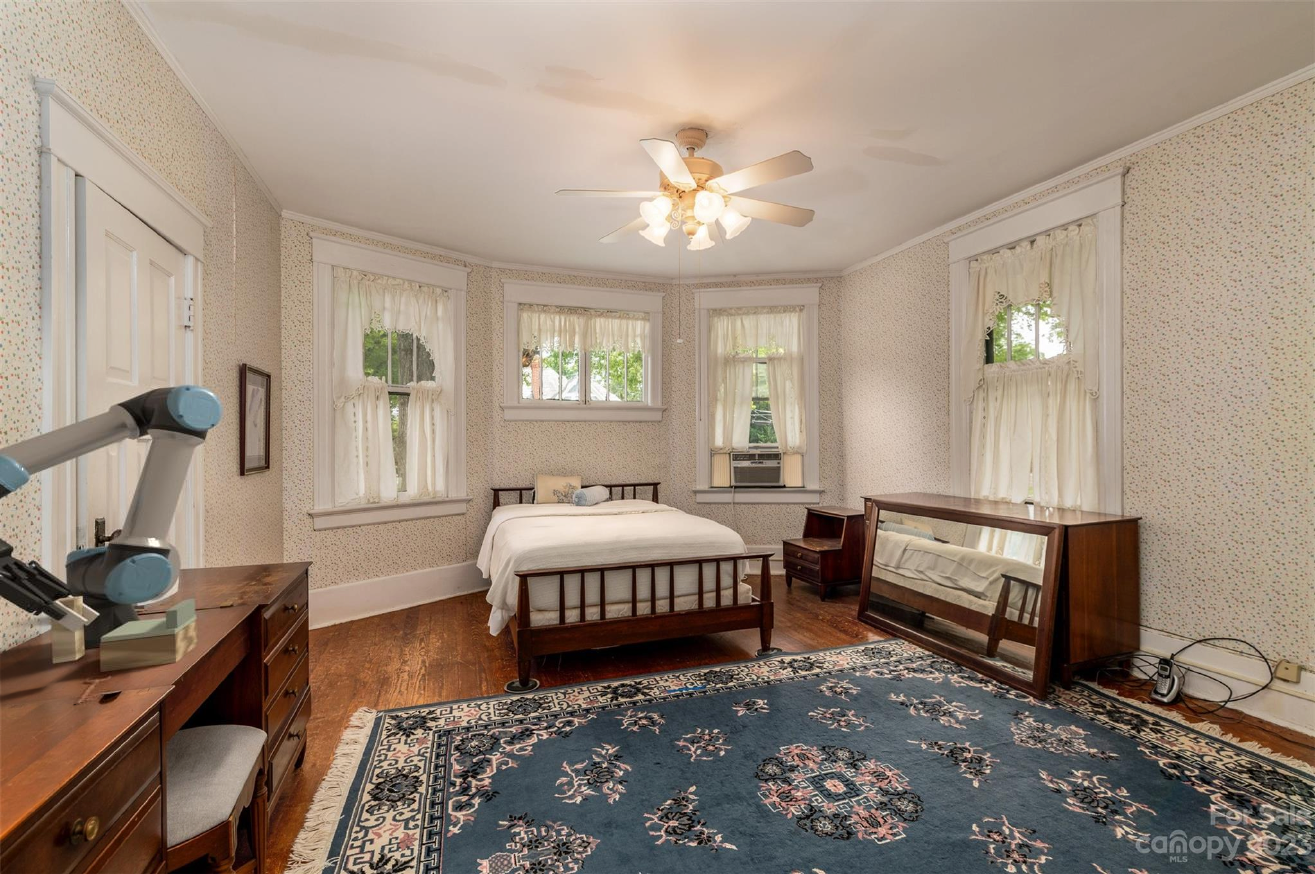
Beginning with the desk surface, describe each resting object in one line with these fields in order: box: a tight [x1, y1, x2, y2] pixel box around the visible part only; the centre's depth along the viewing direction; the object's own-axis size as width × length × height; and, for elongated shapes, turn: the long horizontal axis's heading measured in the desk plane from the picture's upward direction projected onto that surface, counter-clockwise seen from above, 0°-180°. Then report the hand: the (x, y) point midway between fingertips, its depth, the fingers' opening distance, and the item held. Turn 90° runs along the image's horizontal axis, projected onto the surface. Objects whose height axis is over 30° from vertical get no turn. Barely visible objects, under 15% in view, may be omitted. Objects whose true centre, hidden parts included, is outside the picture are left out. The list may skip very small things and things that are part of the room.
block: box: [50, 596, 86, 664], centre depth 118 cm, size 4×4×12 cm
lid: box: [101, 598, 197, 642], centre depth 131 cm, size 12×13×5 cm
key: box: [74, 674, 112, 705], centre depth 115 cm, size 6×1×15 cm
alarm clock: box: [133, 542, 182, 609], centre depth 175 cm, size 18×8×20 cm, turn 6°
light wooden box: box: [99, 619, 198, 673], centre depth 131 cm, size 12×13×6 cm
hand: (87, 622), depth 119 cm, fingers closed on block, 4 cm apart
